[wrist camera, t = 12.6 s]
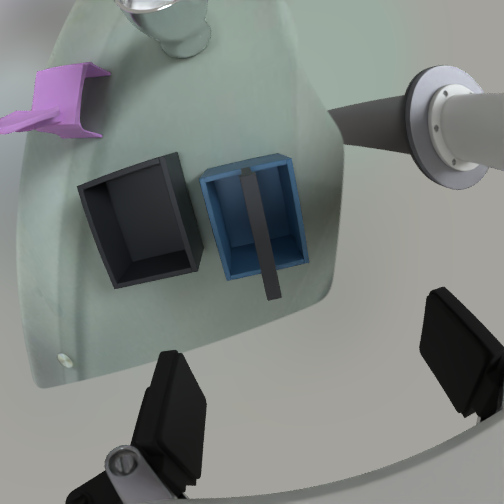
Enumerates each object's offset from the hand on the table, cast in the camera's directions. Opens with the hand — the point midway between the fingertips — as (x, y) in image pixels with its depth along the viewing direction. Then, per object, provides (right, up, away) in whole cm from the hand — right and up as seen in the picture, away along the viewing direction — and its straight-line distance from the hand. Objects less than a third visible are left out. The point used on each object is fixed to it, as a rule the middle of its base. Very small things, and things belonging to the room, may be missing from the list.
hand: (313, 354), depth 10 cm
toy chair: (-23, +22, +18) cm, 37 cm away
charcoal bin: (-14, +9, +24) cm, 30 cm away
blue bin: (-2, +9, +25) cm, 26 cm away
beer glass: (-10, +29, +17) cm, 34 cm away
